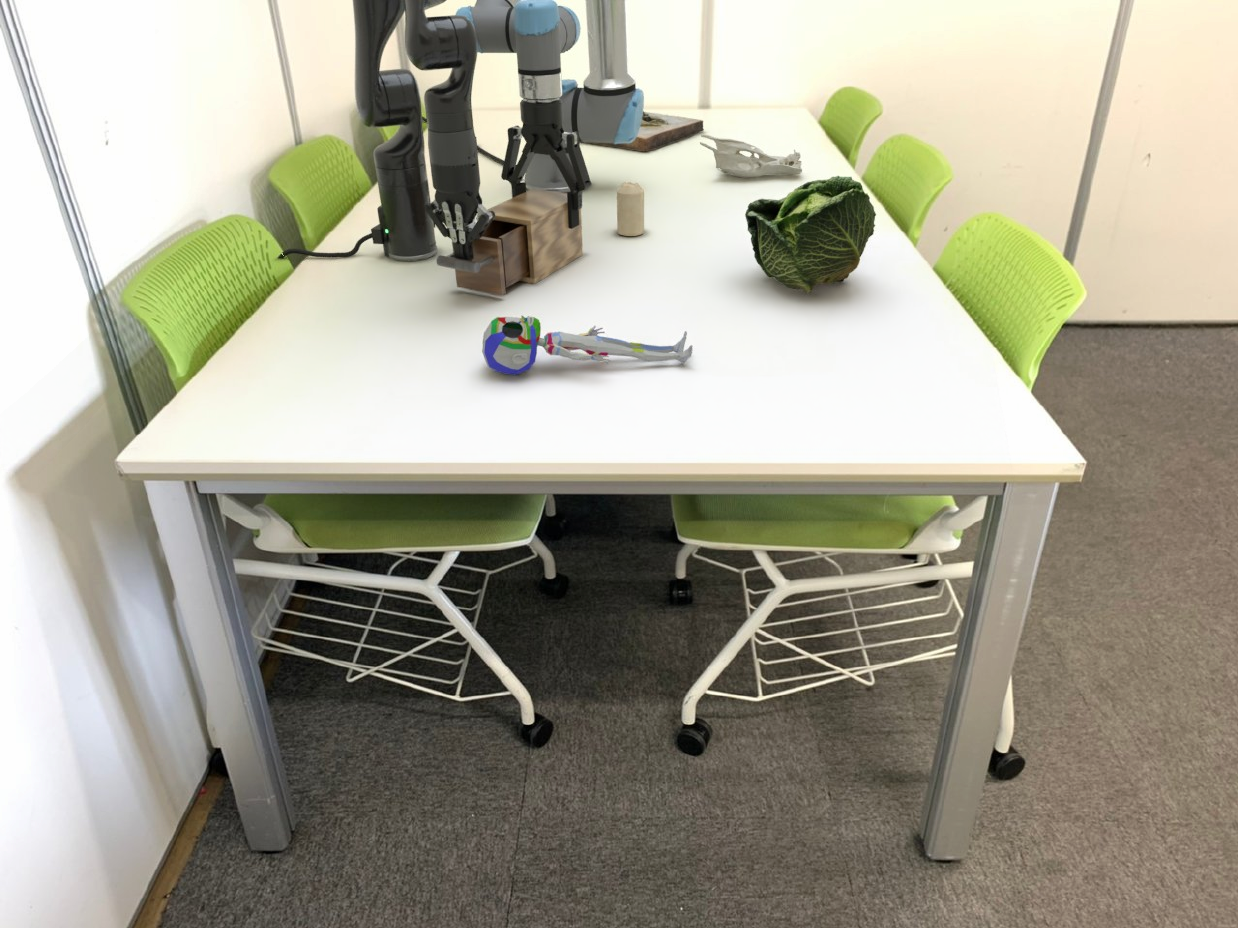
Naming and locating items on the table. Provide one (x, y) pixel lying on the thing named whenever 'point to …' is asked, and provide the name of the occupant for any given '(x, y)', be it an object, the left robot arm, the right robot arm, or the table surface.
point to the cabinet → (543, 230)
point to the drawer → (493, 259)
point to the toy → (561, 345)
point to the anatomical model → (751, 160)
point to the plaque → (660, 131)
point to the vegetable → (812, 232)
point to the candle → (630, 209)
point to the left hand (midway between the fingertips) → (465, 263)
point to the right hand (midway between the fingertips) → (547, 222)
